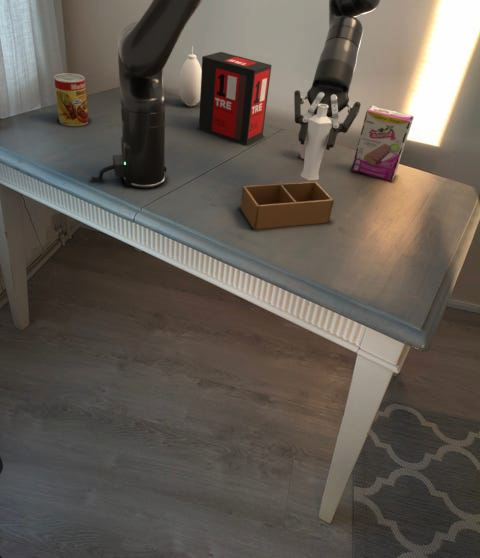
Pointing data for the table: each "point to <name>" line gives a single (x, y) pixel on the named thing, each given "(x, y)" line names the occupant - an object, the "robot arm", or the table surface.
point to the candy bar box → (381, 142)
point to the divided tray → (285, 204)
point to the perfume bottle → (316, 142)
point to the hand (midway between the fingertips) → (315, 145)
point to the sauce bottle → (190, 81)
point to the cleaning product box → (233, 97)
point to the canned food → (71, 99)
